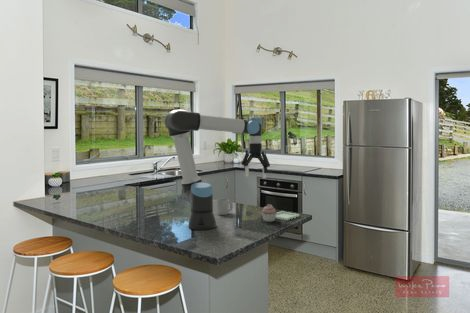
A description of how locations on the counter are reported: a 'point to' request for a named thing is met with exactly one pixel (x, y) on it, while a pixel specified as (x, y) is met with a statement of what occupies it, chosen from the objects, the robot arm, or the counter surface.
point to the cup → (223, 206)
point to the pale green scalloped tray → (285, 215)
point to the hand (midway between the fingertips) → (255, 177)
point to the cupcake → (268, 213)
